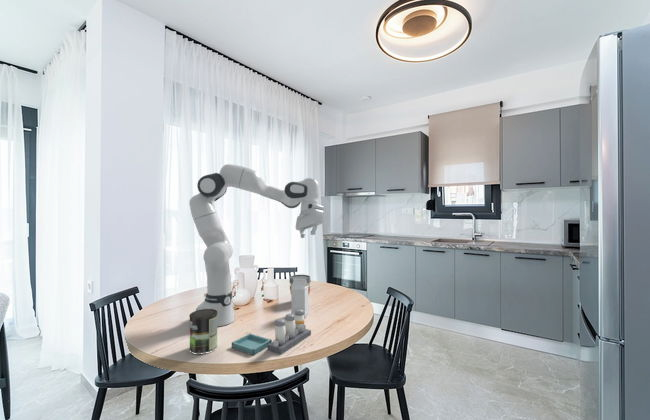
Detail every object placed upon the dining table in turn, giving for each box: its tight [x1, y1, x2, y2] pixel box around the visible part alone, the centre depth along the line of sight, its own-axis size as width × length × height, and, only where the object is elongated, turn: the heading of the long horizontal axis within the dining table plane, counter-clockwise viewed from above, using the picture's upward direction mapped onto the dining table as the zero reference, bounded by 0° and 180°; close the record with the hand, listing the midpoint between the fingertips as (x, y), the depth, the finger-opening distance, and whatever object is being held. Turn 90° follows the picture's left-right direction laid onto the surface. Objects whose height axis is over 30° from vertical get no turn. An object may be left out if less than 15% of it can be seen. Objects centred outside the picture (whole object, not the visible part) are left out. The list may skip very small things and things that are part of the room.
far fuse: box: [274, 318, 286, 346], centre depth 115 cm, size 4×4×9 cm
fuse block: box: [267, 324, 312, 355], centre depth 121 cm, size 7×20×4 cm, turn 149°
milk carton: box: [290, 279, 309, 320], centre depth 150 cm, size 7×7×19 cm
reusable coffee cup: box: [289, 274, 311, 296], centre depth 172 cm, size 13×13×15 cm
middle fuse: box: [285, 313, 295, 339], centre depth 121 cm, size 4×4×9 cm
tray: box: [231, 333, 273, 356], centre depth 117 cm, size 12×10×2 cm
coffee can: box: [189, 309, 218, 354], centre depth 115 cm, size 10×10×14 cm
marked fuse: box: [295, 309, 305, 333], centre depth 126 cm, size 4×4×9 cm
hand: (307, 236), depth 143 cm, fingers open, 8 cm apart
